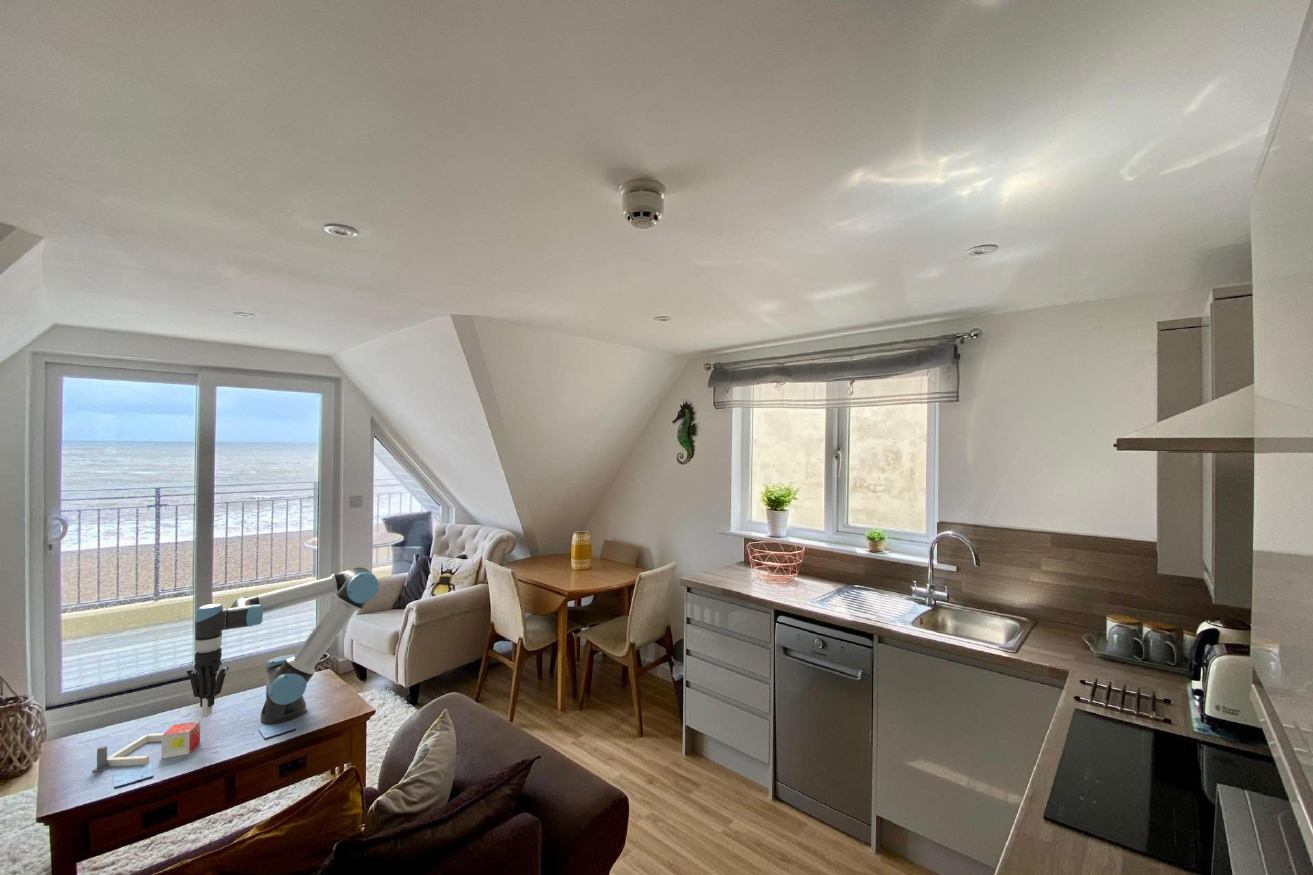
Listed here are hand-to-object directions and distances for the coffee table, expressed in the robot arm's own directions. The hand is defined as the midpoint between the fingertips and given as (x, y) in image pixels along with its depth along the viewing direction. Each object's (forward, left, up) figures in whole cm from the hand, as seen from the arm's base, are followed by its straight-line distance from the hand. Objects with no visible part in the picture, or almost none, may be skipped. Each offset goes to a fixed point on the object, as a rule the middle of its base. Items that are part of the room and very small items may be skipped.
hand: (207, 715), depth 195 cm
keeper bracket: (+21, +1, -12) cm, 24 cm away
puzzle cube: (+9, 0, -12) cm, 15 cm away
